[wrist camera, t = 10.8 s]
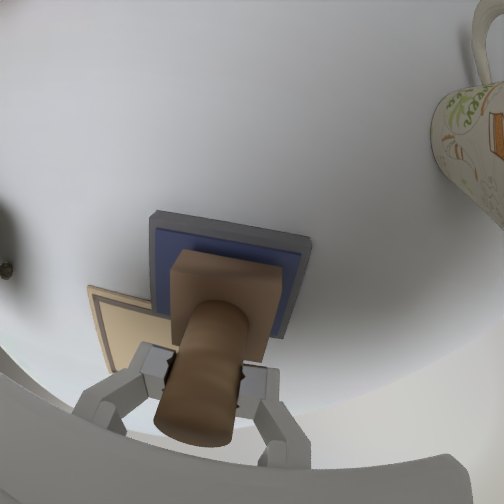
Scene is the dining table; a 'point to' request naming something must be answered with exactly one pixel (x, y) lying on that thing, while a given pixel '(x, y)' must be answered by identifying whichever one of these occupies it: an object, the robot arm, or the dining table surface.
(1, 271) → the tabletop clock
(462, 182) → the mug
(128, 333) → the card
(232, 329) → the stamp
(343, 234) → the dining table surface
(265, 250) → the ink pad
